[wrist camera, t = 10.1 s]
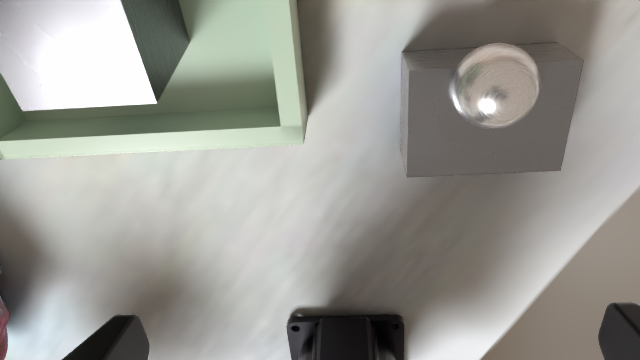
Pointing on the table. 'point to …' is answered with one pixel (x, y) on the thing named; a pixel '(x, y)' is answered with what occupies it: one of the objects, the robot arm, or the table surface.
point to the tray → (189, 93)
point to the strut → (89, 51)
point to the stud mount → (487, 108)
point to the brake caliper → (3, 327)
